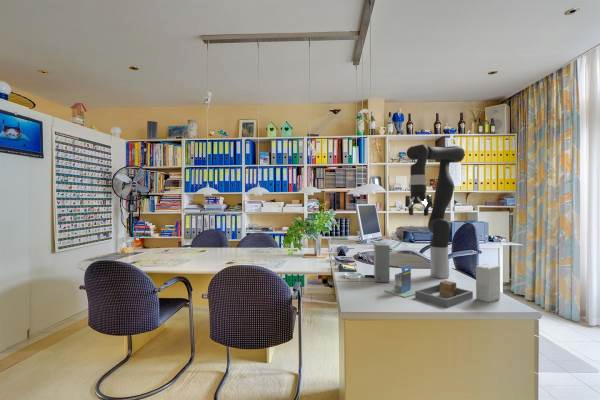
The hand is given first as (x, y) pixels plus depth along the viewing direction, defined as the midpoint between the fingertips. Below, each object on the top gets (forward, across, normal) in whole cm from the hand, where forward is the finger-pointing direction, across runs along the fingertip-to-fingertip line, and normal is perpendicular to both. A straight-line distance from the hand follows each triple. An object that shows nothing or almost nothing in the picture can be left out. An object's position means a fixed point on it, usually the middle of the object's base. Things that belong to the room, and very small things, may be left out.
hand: (418, 215), depth 151 cm
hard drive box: (+36, -20, -6) cm, 42 cm away
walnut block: (+36, +17, -3) cm, 40 cm away
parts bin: (+36, +18, -8) cm, 41 cm away
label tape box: (+36, +2, -16) cm, 39 cm away
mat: (+36, +2, -16) cm, 40 cm away
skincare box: (+36, +30, +6) cm, 47 cm away
